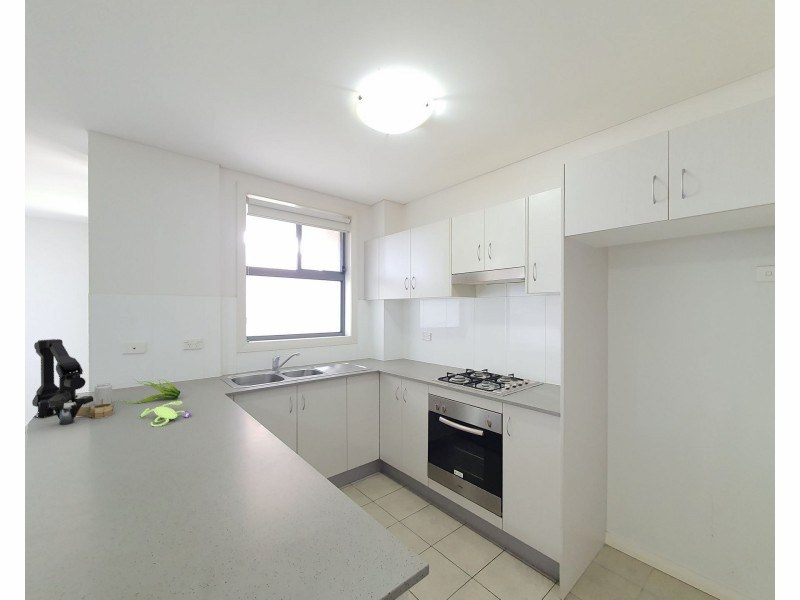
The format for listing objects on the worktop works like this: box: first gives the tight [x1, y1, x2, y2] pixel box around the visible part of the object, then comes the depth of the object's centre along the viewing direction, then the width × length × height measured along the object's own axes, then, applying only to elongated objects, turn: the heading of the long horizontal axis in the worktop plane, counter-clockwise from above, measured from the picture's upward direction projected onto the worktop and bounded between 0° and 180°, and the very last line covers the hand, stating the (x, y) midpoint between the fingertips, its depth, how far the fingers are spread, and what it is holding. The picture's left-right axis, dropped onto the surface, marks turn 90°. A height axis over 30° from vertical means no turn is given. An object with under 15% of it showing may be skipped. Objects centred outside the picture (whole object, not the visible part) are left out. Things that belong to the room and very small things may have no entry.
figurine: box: [140, 400, 192, 427], centre depth 169 cm, size 18×27×6 cm
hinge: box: [75, 399, 115, 419], centre depth 171 cm, size 18×16×5 cm
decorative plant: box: [111, 378, 181, 404], centre depth 194 cm, size 18×30×15 cm, turn 91°
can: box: [93, 382, 113, 406], centre depth 187 cm, size 8×8×12 cm
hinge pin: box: [59, 406, 75, 426], centre depth 158 cm, size 5×5×7 cm
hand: (66, 418), depth 158 cm, fingers closed on hinge pin, 5 cm apart
